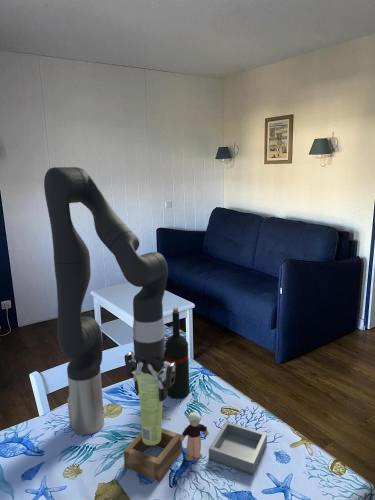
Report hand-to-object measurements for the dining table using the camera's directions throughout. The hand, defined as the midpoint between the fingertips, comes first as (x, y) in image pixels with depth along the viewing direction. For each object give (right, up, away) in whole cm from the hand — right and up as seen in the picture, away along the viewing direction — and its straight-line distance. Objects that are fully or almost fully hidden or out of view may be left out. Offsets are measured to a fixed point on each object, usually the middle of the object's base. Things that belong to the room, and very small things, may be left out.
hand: (150, 396), depth 95 cm
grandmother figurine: (+11, -18, +5) cm, 22 cm away
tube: (0, -13, +3) cm, 13 cm away
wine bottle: (+5, -12, +33) cm, 36 cm away
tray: (+23, -17, +6) cm, 29 cm away
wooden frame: (0, -18, +4) cm, 18 cm away
